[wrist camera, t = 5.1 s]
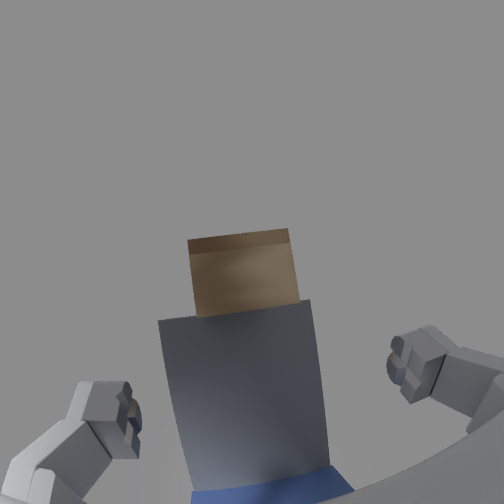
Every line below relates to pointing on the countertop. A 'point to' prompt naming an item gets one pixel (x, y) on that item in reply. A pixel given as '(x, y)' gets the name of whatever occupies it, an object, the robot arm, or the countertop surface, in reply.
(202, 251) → the slide box
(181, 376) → the l-shaped step block
